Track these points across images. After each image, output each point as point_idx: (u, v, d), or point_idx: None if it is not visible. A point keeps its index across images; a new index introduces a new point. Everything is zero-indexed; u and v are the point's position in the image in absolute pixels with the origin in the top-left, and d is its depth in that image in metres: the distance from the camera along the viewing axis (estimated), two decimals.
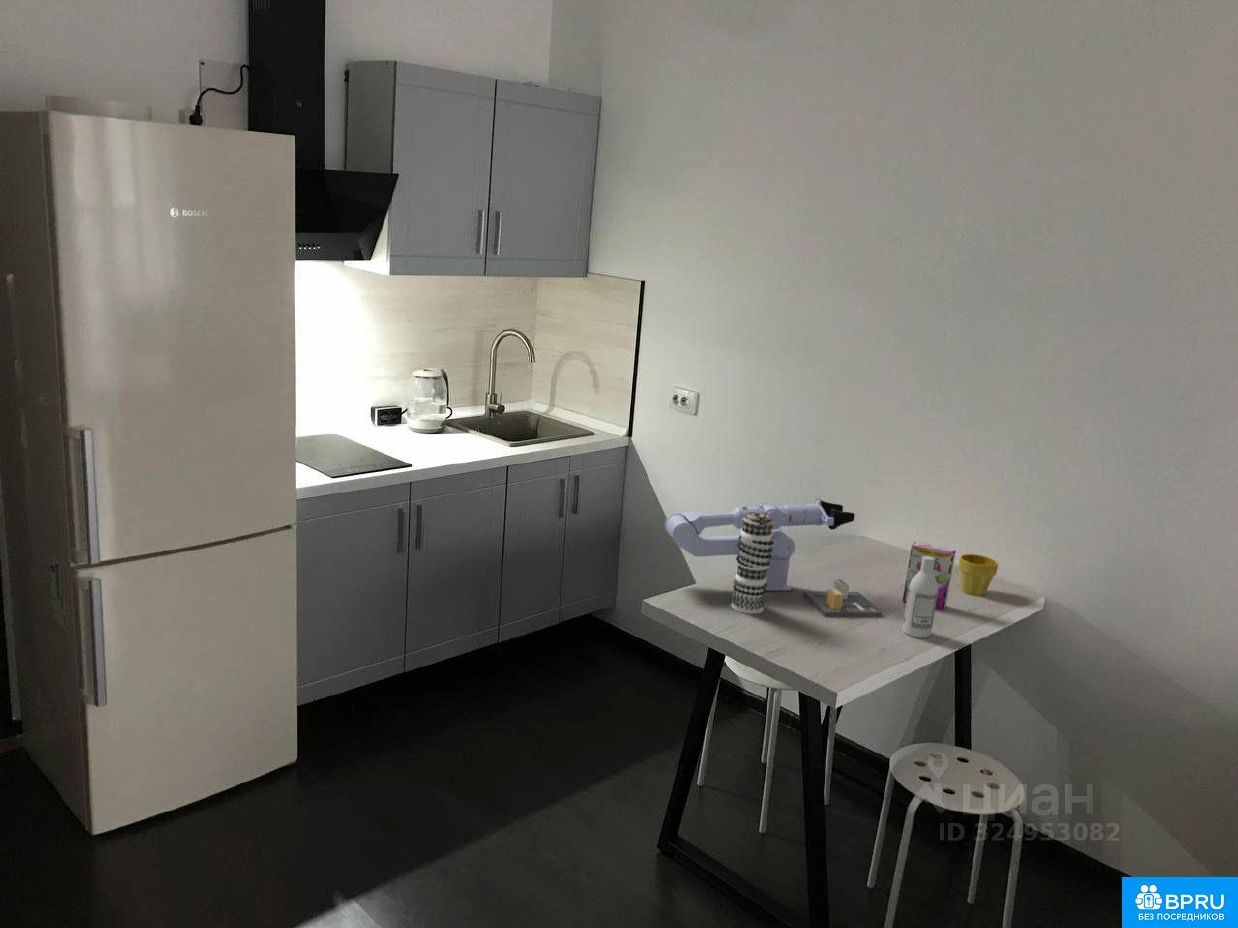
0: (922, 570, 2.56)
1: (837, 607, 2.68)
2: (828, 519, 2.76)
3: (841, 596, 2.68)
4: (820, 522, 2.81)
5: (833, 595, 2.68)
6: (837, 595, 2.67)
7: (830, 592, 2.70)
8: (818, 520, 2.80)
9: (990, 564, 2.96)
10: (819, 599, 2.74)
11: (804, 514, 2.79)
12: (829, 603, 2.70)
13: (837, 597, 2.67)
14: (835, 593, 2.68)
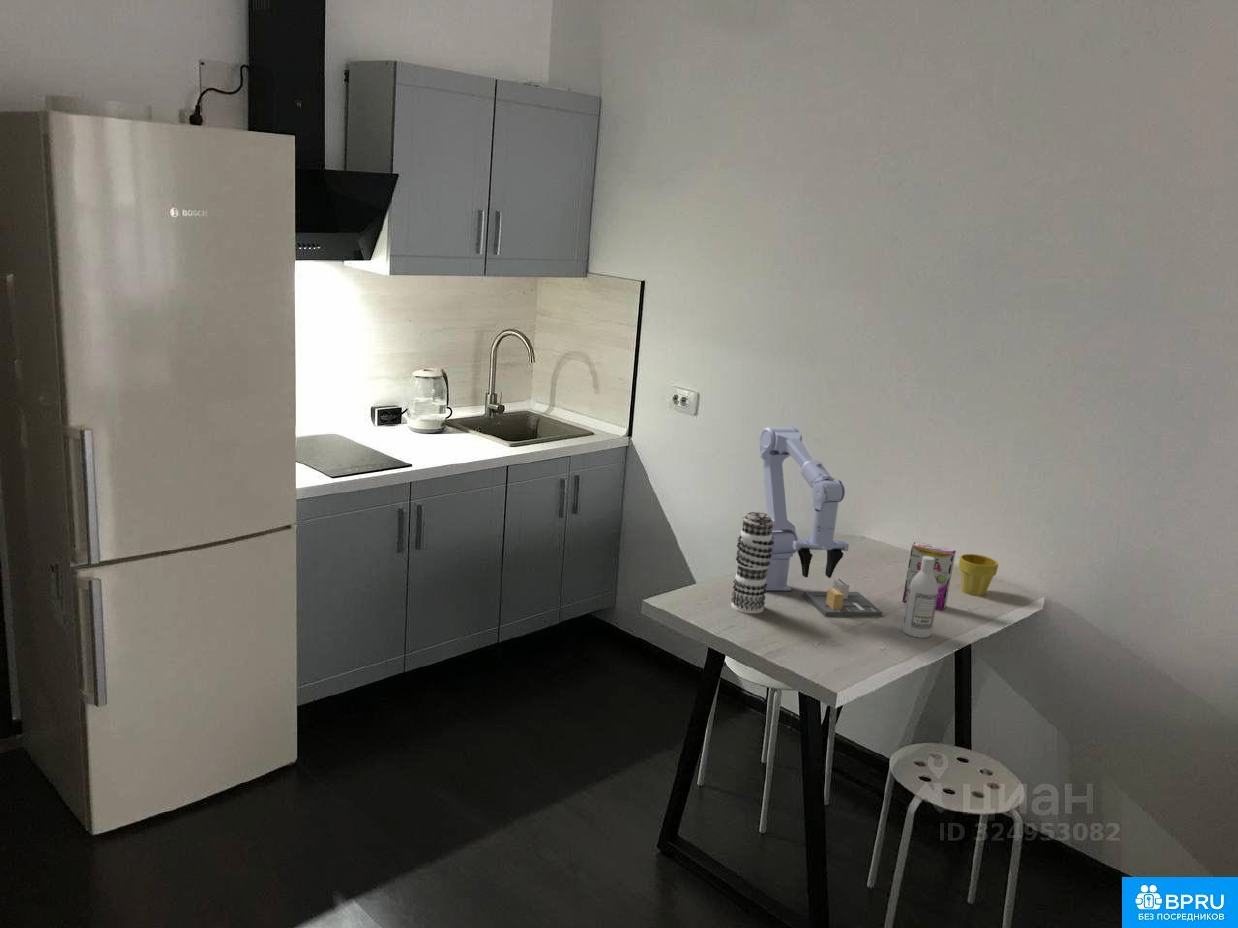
0: (922, 570, 2.56)
1: (837, 607, 2.68)
2: (795, 544, 2.63)
3: (841, 596, 2.68)
4: (809, 540, 2.66)
5: (833, 595, 2.68)
6: (837, 595, 2.67)
7: (830, 592, 2.70)
8: (810, 539, 2.65)
9: (990, 564, 2.96)
10: (819, 599, 2.74)
11: (817, 526, 2.62)
12: (829, 603, 2.70)
13: (837, 597, 2.67)
14: (835, 593, 2.68)
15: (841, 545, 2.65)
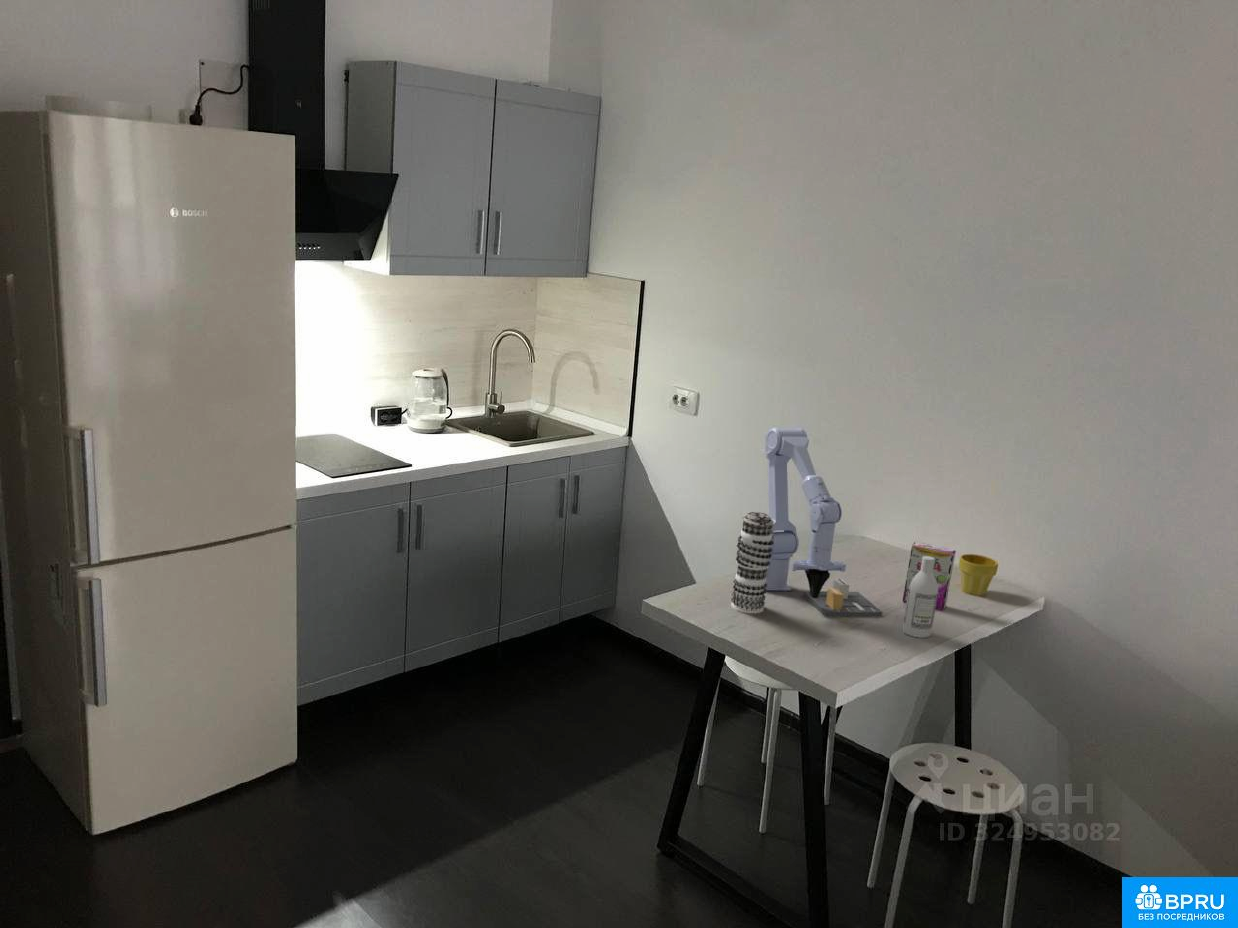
0: (922, 570, 2.56)
1: (837, 607, 2.68)
2: (793, 564, 2.64)
3: (841, 596, 2.68)
4: (806, 561, 2.67)
5: (833, 595, 2.68)
6: (837, 595, 2.67)
7: (830, 592, 2.70)
8: None
9: (990, 564, 2.96)
10: (819, 599, 2.74)
11: (814, 547, 2.63)
12: (829, 603, 2.70)
13: (837, 597, 2.67)
14: (835, 593, 2.68)
15: (838, 566, 2.66)
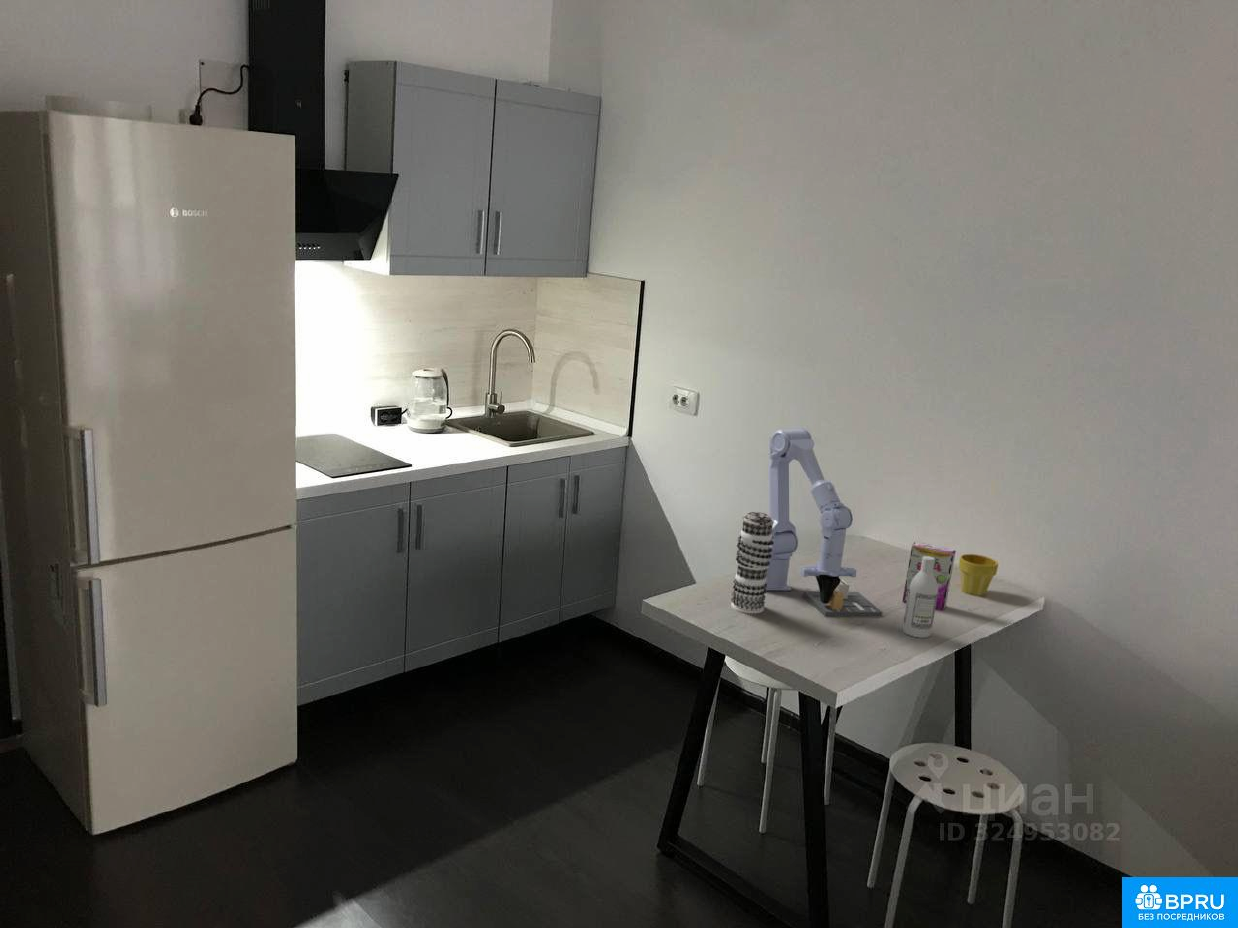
0: (922, 570, 2.56)
1: (837, 607, 2.68)
2: (803, 570, 2.65)
3: (841, 596, 2.68)
4: (817, 567, 2.68)
5: (833, 595, 2.68)
6: (837, 595, 2.67)
7: None
8: (818, 565, 2.68)
9: (990, 564, 2.96)
10: (819, 599, 2.74)
11: (826, 553, 2.64)
12: (829, 603, 2.70)
13: (837, 597, 2.67)
14: (835, 593, 2.68)
15: (849, 571, 2.67)
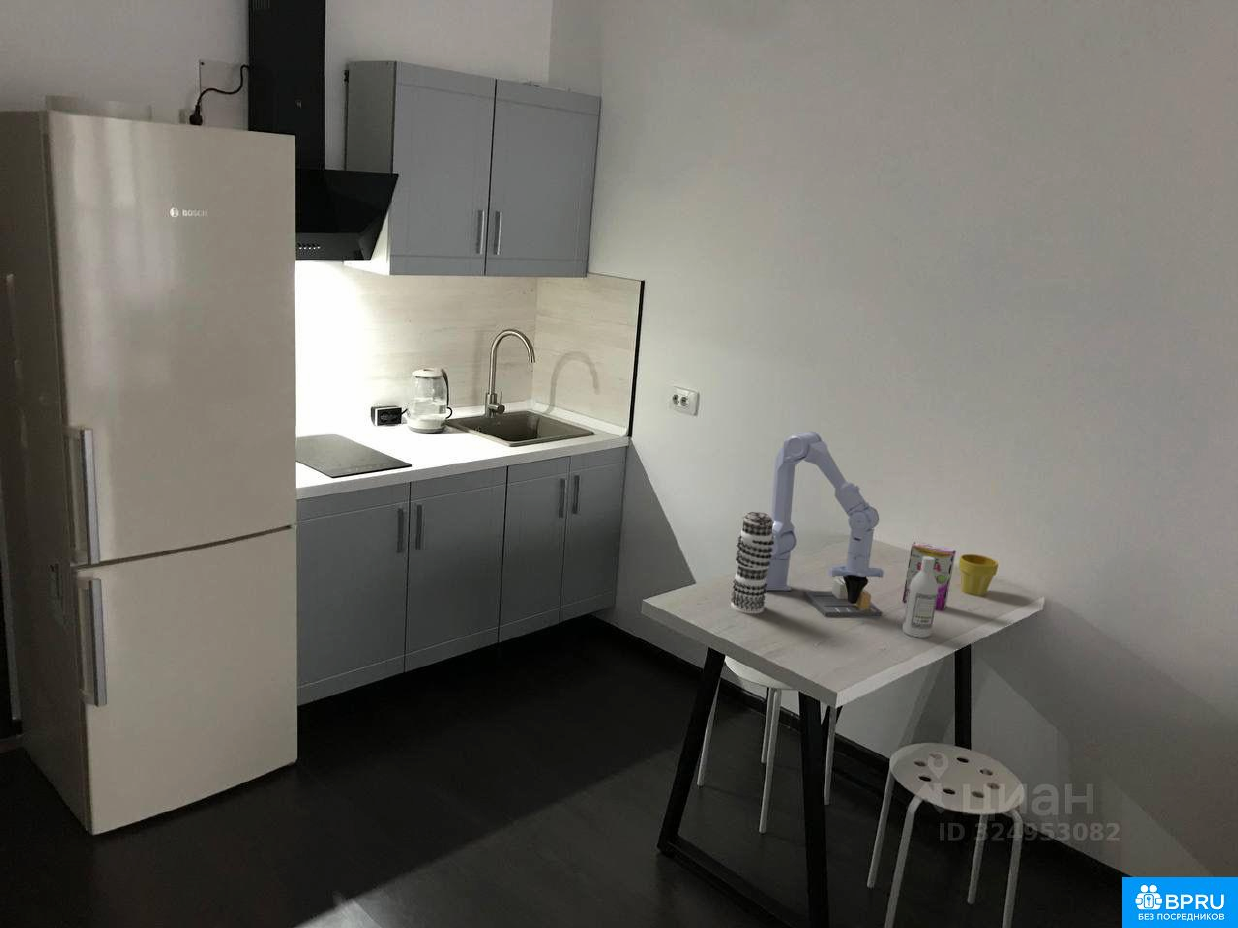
0: (922, 570, 2.56)
1: (864, 607, 2.70)
2: (831, 571, 2.67)
3: (869, 596, 2.69)
4: (844, 567, 2.70)
5: (860, 595, 2.70)
6: (864, 595, 2.69)
7: None
8: (846, 566, 2.69)
9: (990, 564, 2.96)
10: (819, 599, 2.74)
11: (858, 555, 2.65)
12: (856, 603, 2.72)
13: (864, 597, 2.69)
14: (862, 594, 2.69)
15: (876, 572, 2.69)
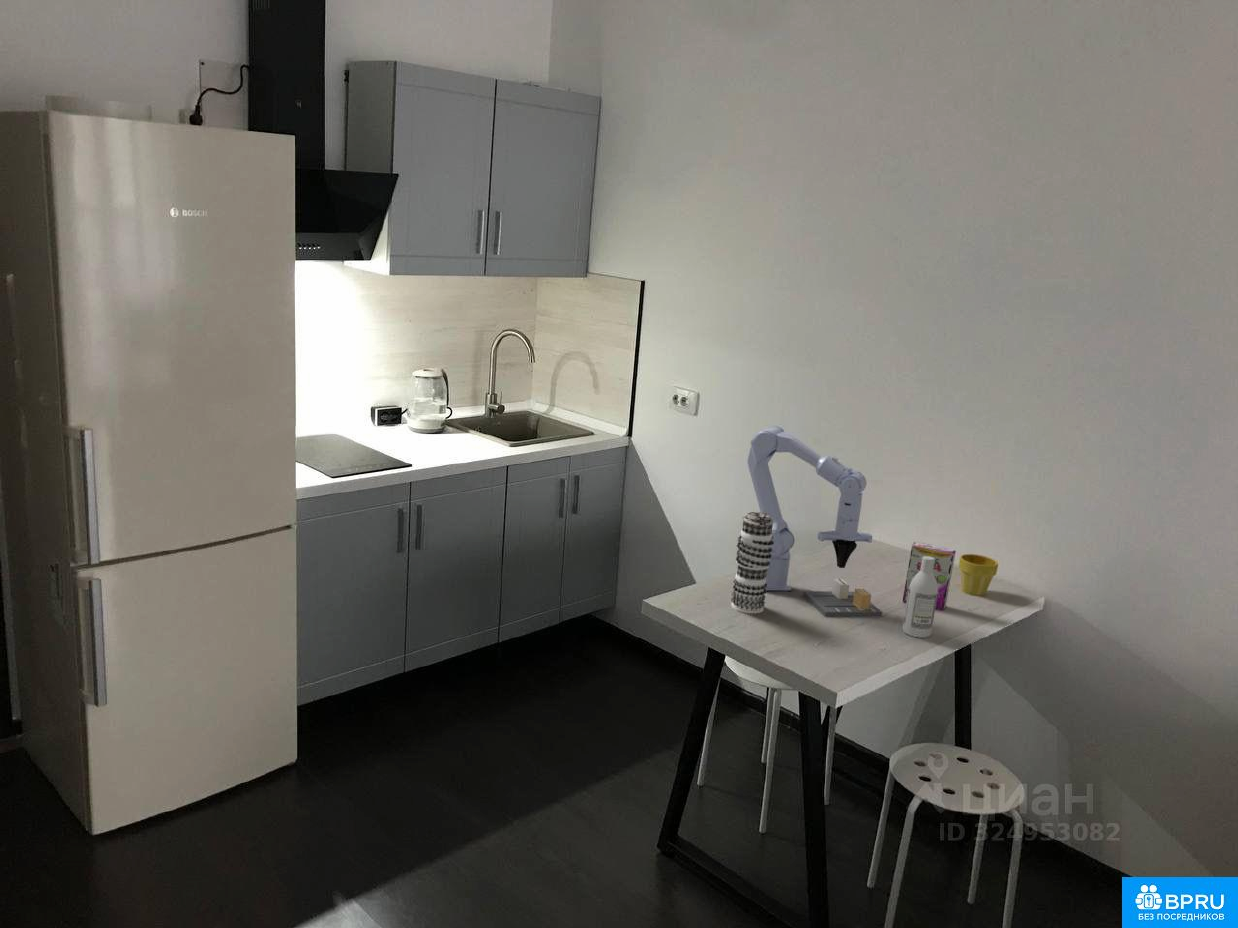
0: (922, 570, 2.56)
1: (864, 607, 2.70)
2: (820, 535, 2.71)
3: (869, 596, 2.69)
4: (834, 532, 2.74)
5: (860, 595, 2.70)
6: (865, 595, 2.69)
7: (857, 592, 2.71)
8: (835, 530, 2.74)
9: (990, 564, 2.96)
10: (819, 599, 2.74)
11: (848, 519, 2.70)
12: (856, 603, 2.72)
13: (865, 597, 2.69)
14: (862, 594, 2.69)
15: (865, 536, 2.73)
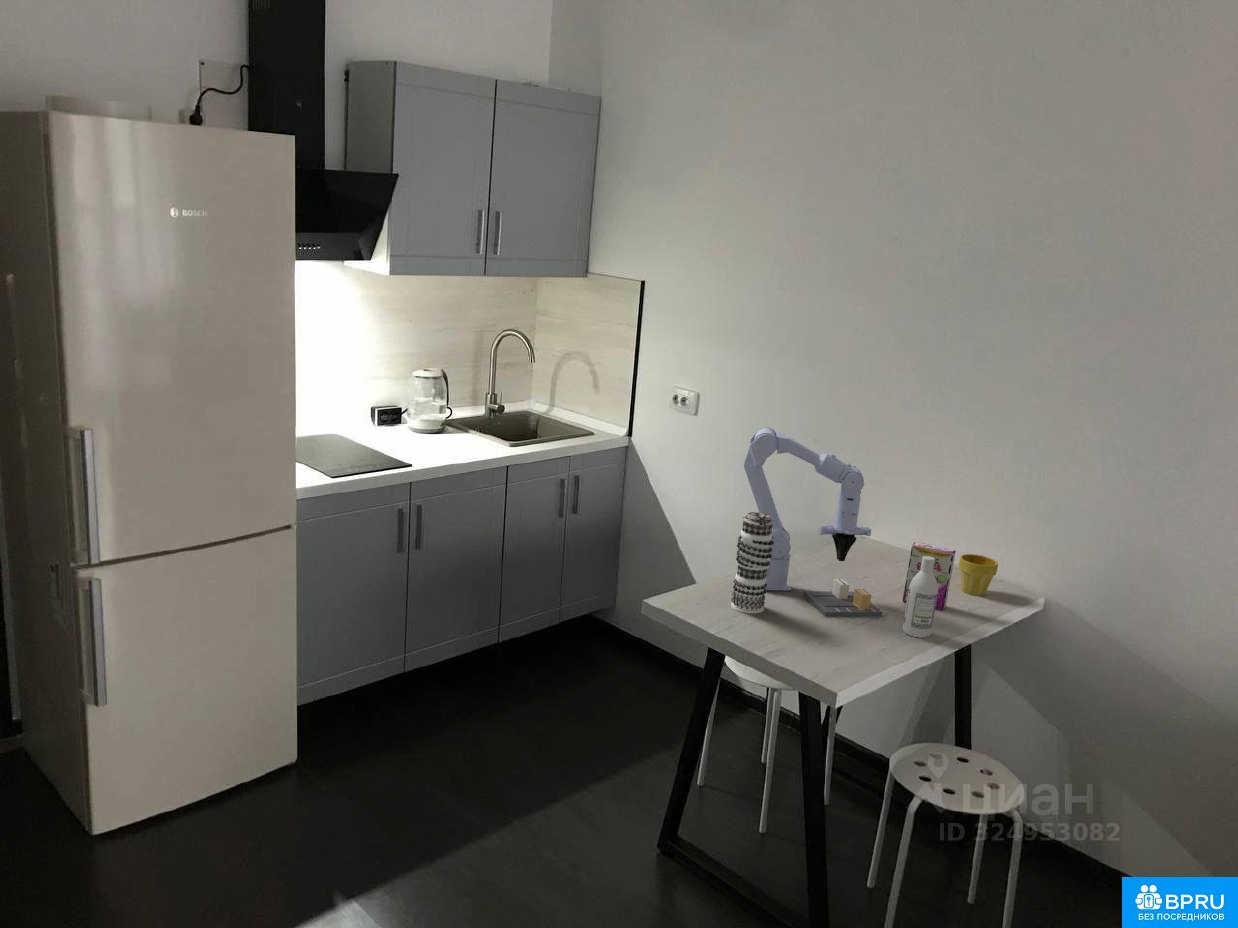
0: (922, 570, 2.56)
1: (864, 607, 2.70)
2: (821, 529, 2.77)
3: (869, 596, 2.69)
4: (833, 526, 2.80)
5: (860, 595, 2.70)
6: (865, 595, 2.69)
7: (857, 592, 2.71)
8: None
9: (990, 564, 2.96)
10: (819, 599, 2.74)
11: (851, 514, 2.75)
12: (856, 603, 2.72)
13: (865, 597, 2.69)
14: (862, 594, 2.69)
15: (864, 530, 2.79)
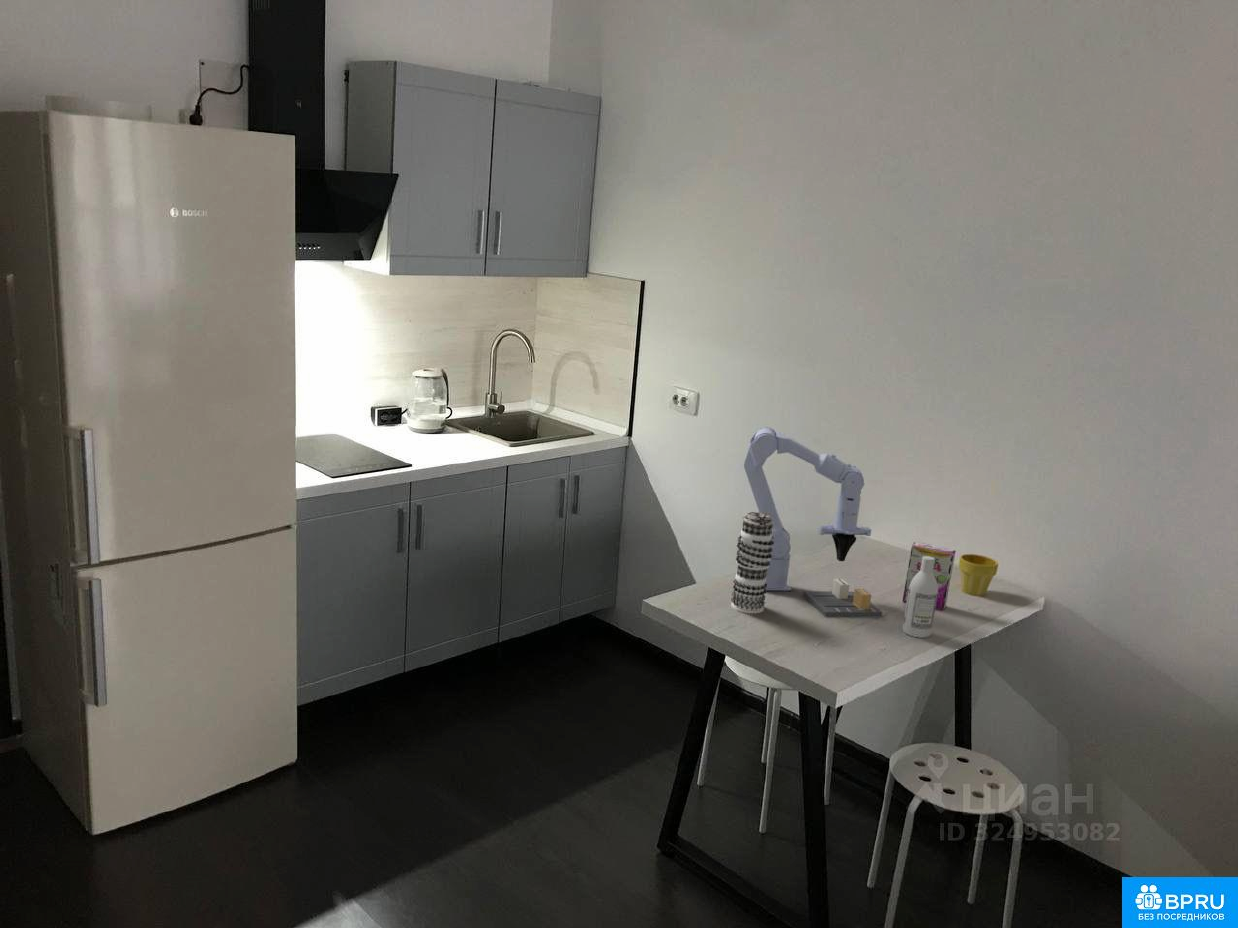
0: (922, 570, 2.56)
1: (864, 607, 2.70)
2: (821, 529, 2.77)
3: (869, 596, 2.69)
4: (833, 526, 2.80)
5: (860, 595, 2.70)
6: (865, 595, 2.69)
7: (857, 592, 2.71)
8: None
9: (990, 564, 2.96)
10: (819, 599, 2.74)
11: (851, 514, 2.75)
12: (856, 603, 2.72)
13: (865, 597, 2.69)
14: (862, 594, 2.69)
15: (864, 530, 2.79)
